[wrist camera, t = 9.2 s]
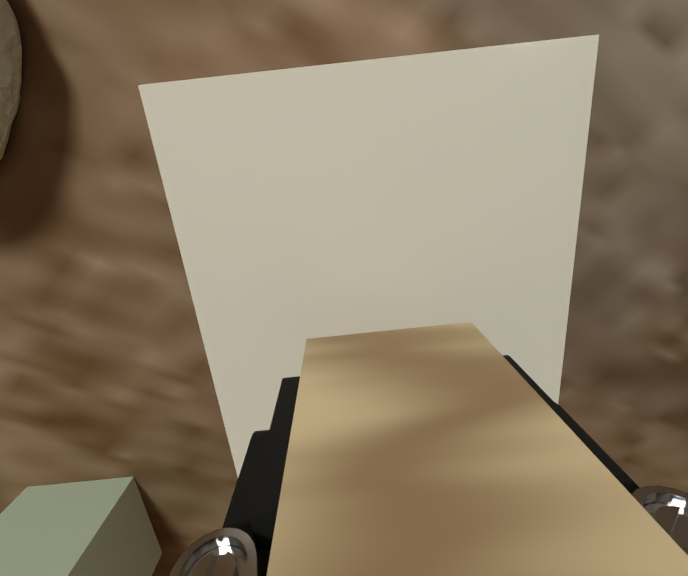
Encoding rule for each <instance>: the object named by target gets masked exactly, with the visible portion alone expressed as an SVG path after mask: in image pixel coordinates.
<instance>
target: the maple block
mask: <svg viewBox="0 0 688 576" xmlns="http://www.w3.org/2000/svg"><path fill="white" fill-rule="evenodd" d="M266 576H688V555H687V554H686V553H685V552H684V551H683V550H682V549H681V548H680V547H679V546H678V545H677V543H676V542H675V541H674V540H673V539H672V538H671V537H670V536H669V535H668V534H667V533H666V532H665V530H664V529H663V528H662V527H661V526H660V525H659V524H658V523H657V522H656V521H655V520H654V519H653V518H652V516H651V515H650V514H649V513H648V512H647V511H646V510H645V509H644V508H643V507H642V506H641V505H640V504H639V502H638V501H637V500H636V499H635V498H634V497H633V496H632V495H631V494H630V493H629V492H628V491H627V489H626V488H625V487H624V486H623V485H622V484H621V483H620V482H619V481H618V480H617V479H616V478H615V477H614V475H613V474H612V473H611V472H610V471H609V470H608V469H607V468H606V467H605V466H604V465H603V464H602V462H601V461H600V460H599V459H598V458H597V457H596V456H595V455H594V454H593V453H592V452H591V451H590V450H589V448H588V447H587V446H586V445H585V444H584V443H583V442H582V441H581V440H580V439H579V438H578V437H577V435H576V434H575V433H574V432H573V431H572V430H571V429H570V428H569V427H568V426H567V425H566V424H565V423H564V421H563V420H562V419H561V418H560V417H559V416H558V415H557V414H556V413H555V412H554V411H553V410H552V409H551V407H550V406H549V405H548V404H547V403H546V402H545V401H544V400H543V399H542V398H541V397H540V396H539V394H538V393H537V392H536V391H535V390H534V389H533V388H532V387H531V386H530V385H529V384H528V383H527V382H526V380H525V379H524V378H523V377H522V376H521V375H520V374H519V373H518V372H517V371H516V370H515V369H514V367H513V366H512V365H511V364H510V363H509V362H508V361H507V360H506V359H505V358H504V357H503V356H502V355H501V353H500V352H499V351H498V350H497V349H496V348H495V347H494V346H493V345H492V344H491V343H490V342H489V340H488V339H487V338H486V337H485V336H484V335H483V334H482V333H481V332H480V331H479V330H478V329H477V328H476V326H475V325H474V324H473V323H472V322H465V323H455V324H446V325H436V326H426V327H417V328H407V329H397V330H388V331H378V332H369V333H359V334H349V335H340V336H330V337H320V338H311V339H306V345H305V351H304V357H303V363H302V369H301V374H300V380H299V386H298V392H297V398H296V404H295V410H294V416H293V422H292V428H291V434H290V439H289V445H288V451H287V457H286V463H285V469H284V475H283V481H282V487H281V493H280V499H279V504H278V510H277V516H276V522H275V528H274V534H273V540H272V546H271V552H270V558H269V564H268V569H267V575H266Z"/></svg>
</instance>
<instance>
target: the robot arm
mask: <svg viewBox="0 0 688 576" xmlns="http://www.w3.org/2000/svg"><path fill="white" fill-rule="evenodd" d="M502 356H503V357H504V358H505V359H506V360H507V361H508V362H509V363H510V364H511V365H512V366H513V367H514V369H515V370H516V371H517V372H518V373H519V374H520V375H521V376H522V377H523V378H524V379H525V380H526V382H527V383H528V384H529V385H530V386H531V387H532V388H533V389H534V390H535V391H536V392H537V393H538V394H539V396H540V397H541V398H542V399H543V400H544V401H545V402H546V403H547V404H548V405H549V406H550V407H551V409H552V410H553V411H554V412H555V413H556V414H557V415H558V416H559V417H560V418H561V419H562V420H563V421H564V423H565V424H566V425H567V426H568V427H569V428H570V429H571V430H572V431H573V432H574V433H575V434H576V435H577V437H578V438H579V439H580V440H581V441H582V442H583V443H584V444H585V445H586V446H587V447H588V448H589V450H590V451H591V452H592V453H593V454H594V455H595V456H596V457H597V458H598V459H599V460H600V461H601V462H602V464H603V465H604V466H605V467H606V468H607V469H608V470H609V471H610V472H611V473H612V474H613V475H614V477H615V478H616V479H617V480H618V481H619V482H620V483H621V484H622V485H623V486H624V487H625V488H626V489H627V491H628V492H629V493H630V494H631V495H632V496H633V497H634V498H635V499H636V500H637V501H638V502H639V504H640V505H641V506H642V507H643V508H644V509H645V510H646V511H647V512H648V513H649V514H650V515H651V516H652V518H653V519H654V520H655V521H656V522H657V523H658V524H659V525H660V526H661V527H662V528H663V529H664V530H665V532H666V533H667V534H668V535H669V536H670V537H671V538H672V539H673V540H674V541H675V542H676V543H677V545H678V546H679V547H680V548H681V549H682V550H683V551H684V552H685V553H686V554H687V555H688V493H686V492H683V491H680V490H677V489H674V488H669V487H664V486H644V487H641V488H639V487H638V486H637V485H636V484H635V482H634V481H633V480H632V479H631V478H630V477H629V476H628V475H627V474H626V473H625V472H624V471H623V470H622V469H621V468H620V467H619V466H618V465H617V464H616V463H615V462H614V461H613V460H612V459H611V458H610V457H609V456H608V455H607V454H606V453H605V452H604V451H603V450H602V449H601V448H600V447H599V445H598V444H597V443H596V442H595V441H594V440H593V439H592V438H591V437H590V436H589V435H588V434H587V433H586V432H585V431H584V430H583V429H582V428H581V427H580V426H579V425H578V424H577V423H576V422H575V421H574V420H573V419H572V418H571V417H570V416H569V415H568V414H567V413H566V412H565V411H564V409H563V408H562V407H561V406H559V405H558V404H557V403H556V402H554V401H553V400H552V399H551V398H550V397H549V396H548V395H547V394H546V393H545V392H544V391H543V390H542V389H541V388H540V387H539V386H538V385H537V384H536V383H535V382H534V381H533V380H532V378H531V377H530V376H529V375H528V374H527V373H526V372H525V371H524V370H523V369H522V368H521V367H520V366H519V365H518V364H517V363H516V362H515V361H514V360H513V359H512V358H511V357H510V356H509V355H502ZM299 380H300V376H297V377H288V378H283V379H282V382H281V386H280V390H279V394H278V398H277V402H276V406H275V409H274V413H273V417H272V421H271V425H270V429H269V430H261V431H255V432H254V433H253V434H252V437H251V439H250V442H249V446H248V449H247V452H246V455H245V458H244V461H243V465H242V468H241V471H240V474H239V477H238V480H237V484H236V487H235V490H234V493H233V496H232V499H231V503H230V506H229V509H228V512H227V515H226V518H225V522H224V525H223V528H222V529H217V530H214V531H212V532H210V533H208V534H205V535H203V536H202V537H201V538H199V539H198V540H196V541H195V542H194V543H192V544H191V545H190V546H189V547H188V548H187V549H186V550H185V551H184V552H183V554H182V555H181V556H180V557H179V559H178V560H177V562H176V564H175V565H174V567H173V568H172V570H171V573H170V576H266V575H267V569H268V564H269V558H270V552H271V546H272V540H273V534H274V528H275V522H276V516H277V510H278V504H279V499H280V493H281V487H282V481H283V475H284V469H285V463H286V457H287V451H288V445H289V439H290V434H291V428H292V422H293V416H294V410H295V404H296V398H297V392H298V386H299Z"/></svg>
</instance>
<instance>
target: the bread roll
mask: <svg viewBox="0 0 688 576" xmlns="http://www.w3.org/2000/svg"><path fill="white" fill-rule="evenodd" d="M21 70H22V46H21V38H20V31H19V27H18V23H17V20H16V17H15V15H14V13H13V11H12V9H11V7H10V5H9V3H8V2H7V0H0V160H1V159H2V157H3V154H4V151H5V148H6V145H7V142H8V138H9V134H10V129H11V125H12V122H13V120H14V118H15V115H16V113H17V111H18V106H19V102H20V89H21V83H22V81H21Z"/></svg>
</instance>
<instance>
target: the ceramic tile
mask: <svg viewBox="0 0 688 576" xmlns="http://www.w3.org/2000/svg"><path fill="white" fill-rule="evenodd" d="M598 41H599V35H590V36H581V37H572V38H563V39H554V40H545V41H536V42H527V43H517V44H508V45H499V46H490V47H481V48H472V49H463V50H454V51H445V52H436V53H427V54H417V55H408V56H399V57H390V58H381V59H372V60H363V61H354V62H345V63H336V64H326V65H317V66H308V67H299V68H290V69H281V70H272V71H263V72H254V73H245V74H235V75H226V76H217V77H208V78H199V79H190V80H181V81H172V82H163V83H154V84H144V85H138V87H139V91H140V95H141V99H142V103H143V107H144V110H145V114H146V118H147V122H148V126H149V130H150V134H151V138H152V142H153V146H154V150H155V154H156V158H157V162H158V166H159V169H160V173H161V177H162V181H163V185H164V189H165V193H166V197H167V201H168V205H169V209H170V213H171V217H172V221H173V225H174V228H175V232H176V236H177V240H178V244H179V248H180V252H181V256H182V260H183V264H184V268H185V272H186V276H187V280H188V283H189V287H190V291H191V295H192V299H193V303H194V307H195V311H196V315H197V319H198V323H199V327H200V331H201V335H202V339H203V342H204V346H205V350H206V354H207V358H208V362H209V366H210V370H211V374H212V378H213V382H214V386H215V390H216V394H217V398H218V401H219V405H220V409H221V413H222V417H223V421H224V425H225V429H226V433H227V437H228V441H229V445H230V449H231V453H232V457H233V460H234V464H235V468H236V472H237V476H238V477H239V474H240V471H241V468H242V465H243V461H244V458H245V455H246V452H247V449H248V446H249V442H250V439H251V437H252V434H253V433H254V432H255V431H261V430H269V429H270V425H271V421H272V417H273V413H274V409H275V406H276V402H277V398H278V394H279V390H280V386H281V382H282V379H283V378H288V377H297V376H300V374H301V369H302V363H303V357H304V351H305V345H306V339H311V338H320V337H330V336H340V335H349V334H359V333H369V332H378V331H388V330H397V329H407V328H417V327H426V326H436V325H446V324H455V323H465V322H472V323H473V324H474V325H475V326H476V328H477V329H478V330H479V331H480V332H481V333H482V334H483V335H484V336H485V337H486V338H487V339H488V340H489V342H490V343H491V344H492V345H493V346H494V347H495V348H496V349H497V350H498V351H499V352H500V353H501V355H509V356H510V357H511V358H512V359H513V360H514V361H515V362H516V363H517V364H518V365H519V366H520V367H521V368H522V369H523V370H524V371H525V372H526V373H527V374H528V375H529V376H530V377H531V378H532V380H533V381H534V382H535V383H536V384H537V385H538V386H539V387H540V388H541V389H542V390H543V391H544V392H545V393H546V394H547V395H548V396H549V397H550V398H551V399H552V400H553V401H554V402H556V403H557V404H558V401H559V392H560V383H561V374H562V365H563V356H564V347H565V338H566V329H567V320H568V311H569V302H570V293H571V284H572V275H573V266H574V257H575V248H576V239H577V230H578V221H579V212H580V203H581V194H582V185H583V176H584V167H585V158H586V149H587V140H588V131H589V122H590V113H591V104H592V95H593V86H594V77H595V68H596V59H597V50H598Z"/></svg>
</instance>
